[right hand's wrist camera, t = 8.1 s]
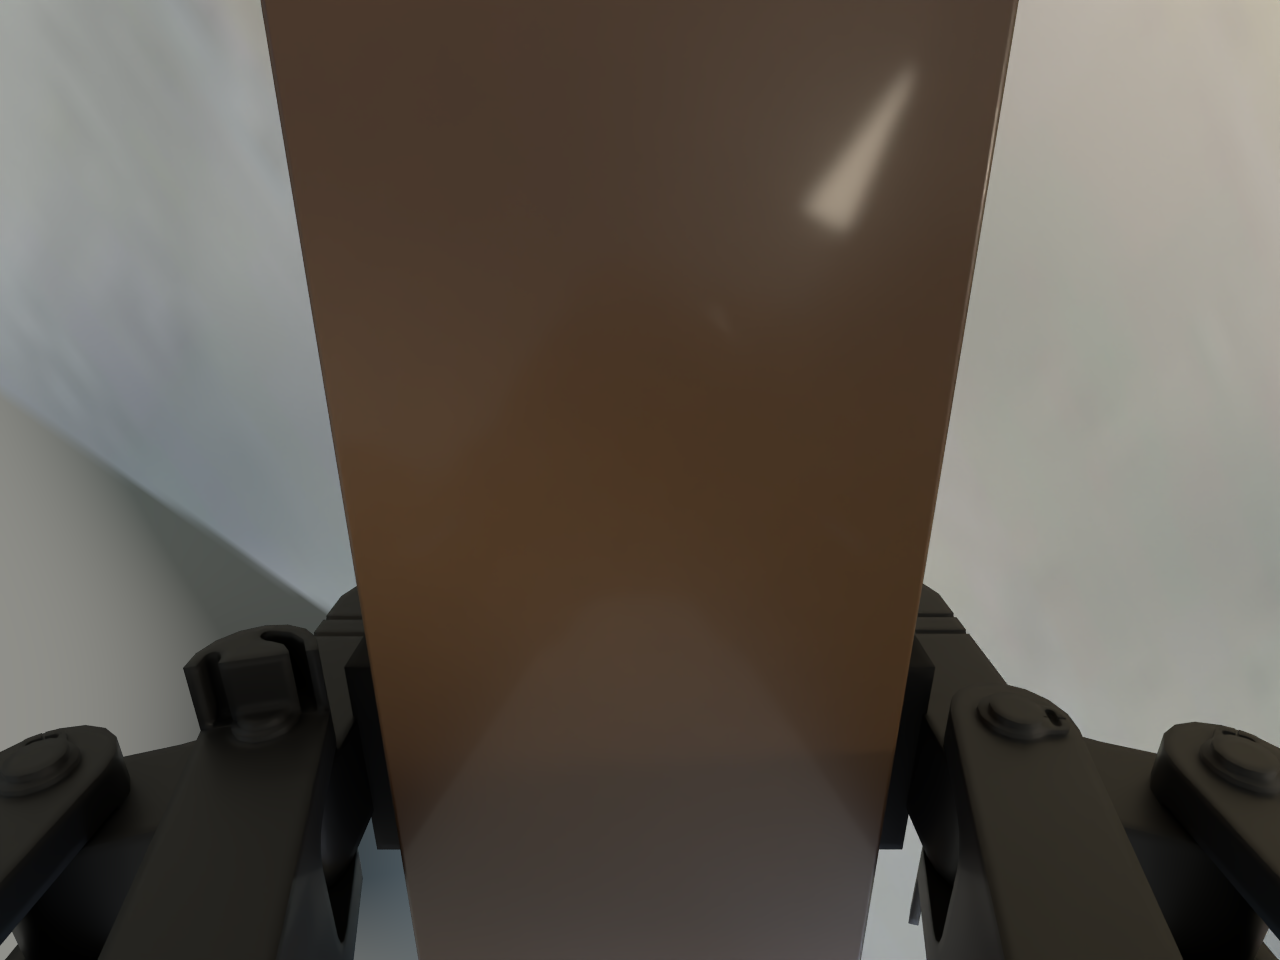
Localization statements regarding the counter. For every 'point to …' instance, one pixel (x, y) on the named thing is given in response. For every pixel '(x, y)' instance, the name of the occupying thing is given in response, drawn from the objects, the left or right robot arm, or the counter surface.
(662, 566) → the bar
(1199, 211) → the counter surface
